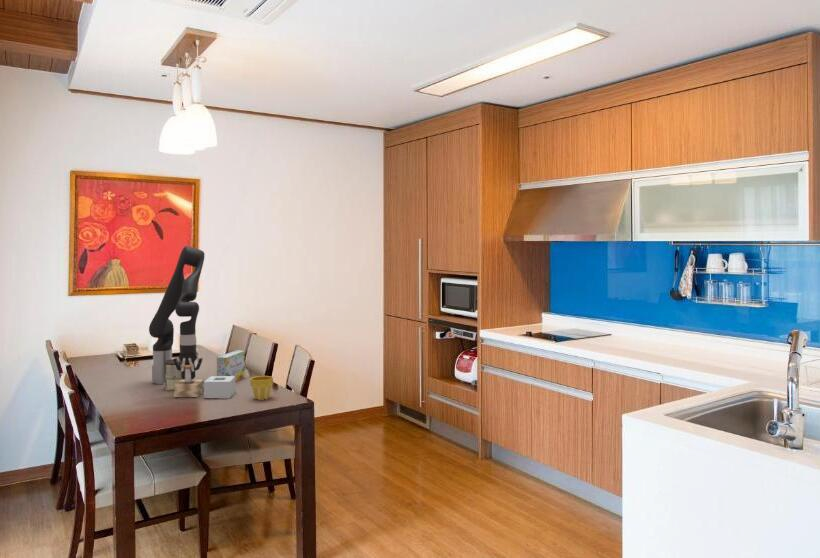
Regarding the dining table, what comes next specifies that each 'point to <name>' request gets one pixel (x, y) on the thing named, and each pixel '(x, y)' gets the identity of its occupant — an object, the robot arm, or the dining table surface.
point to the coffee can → (172, 374)
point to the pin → (187, 374)
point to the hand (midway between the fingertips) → (188, 378)
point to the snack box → (232, 364)
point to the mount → (189, 388)
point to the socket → (219, 387)
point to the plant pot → (261, 386)
